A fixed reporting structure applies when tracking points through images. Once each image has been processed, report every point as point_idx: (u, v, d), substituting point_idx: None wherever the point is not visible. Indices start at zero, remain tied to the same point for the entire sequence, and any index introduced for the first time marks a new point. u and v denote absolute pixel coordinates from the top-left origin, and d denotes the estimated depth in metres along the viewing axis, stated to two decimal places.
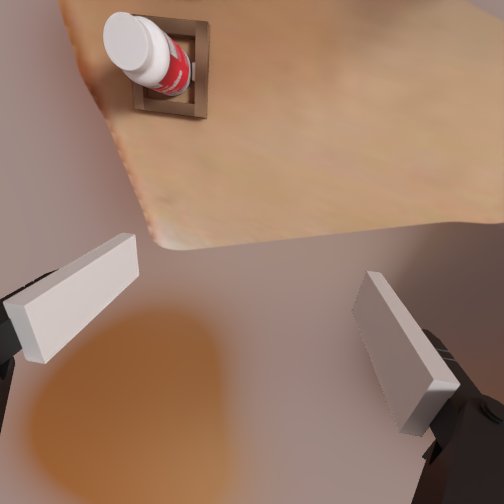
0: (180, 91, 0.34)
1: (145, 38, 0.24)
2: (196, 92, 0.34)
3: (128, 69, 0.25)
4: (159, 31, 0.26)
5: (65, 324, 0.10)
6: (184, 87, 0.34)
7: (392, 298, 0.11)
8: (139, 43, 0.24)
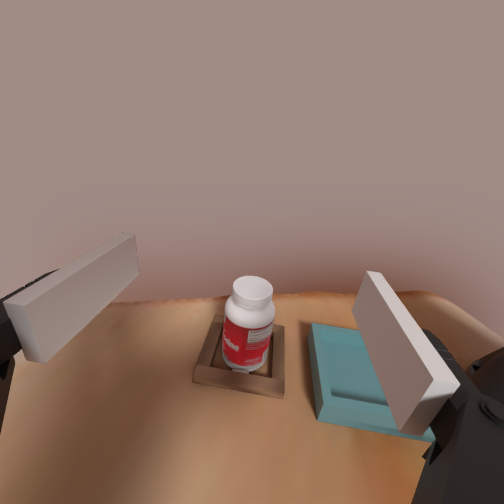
0: (223, 355, 0.31)
1: (254, 298, 0.26)
2: (220, 370, 0.29)
3: (233, 283, 0.28)
4: (264, 321, 0.27)
5: (65, 324, 0.10)
6: (226, 359, 0.30)
7: (392, 298, 0.11)
8: (251, 294, 0.27)
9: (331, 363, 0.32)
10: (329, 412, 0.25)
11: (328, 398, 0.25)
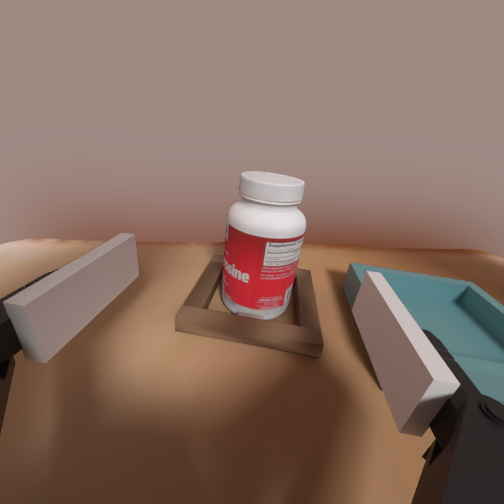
0: (224, 296, 0.20)
1: (278, 183, 0.16)
2: (219, 314, 0.18)
3: (242, 173, 0.18)
4: (292, 228, 0.17)
5: (65, 324, 0.10)
6: (229, 302, 0.20)
7: (392, 298, 0.11)
8: (271, 181, 0.16)
9: None
10: None
11: None
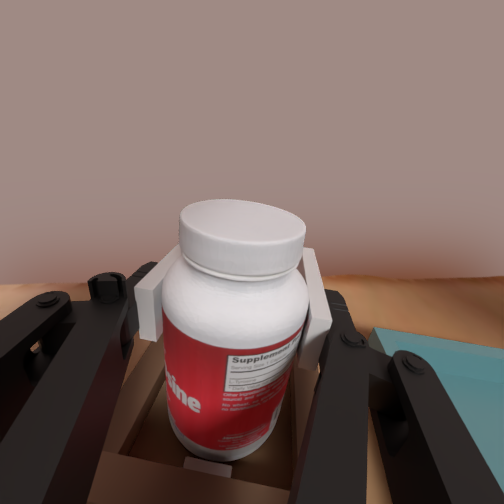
0: (168, 410, 0.12)
1: (249, 240, 0.07)
2: (147, 468, 0.10)
3: (185, 207, 0.09)
4: (282, 324, 0.08)
5: None
6: (174, 426, 0.11)
7: (312, 266, 0.13)
8: (237, 230, 0.08)
9: None
10: None
11: None
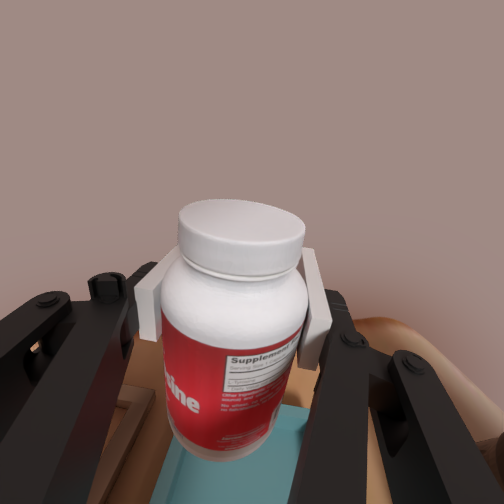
0: (167, 411, 0.12)
1: (247, 240, 0.07)
2: None
3: (184, 207, 0.09)
4: (281, 324, 0.08)
5: None
6: (173, 427, 0.11)
7: (312, 266, 0.13)
8: (236, 229, 0.08)
9: (201, 467, 0.19)
10: None
11: None
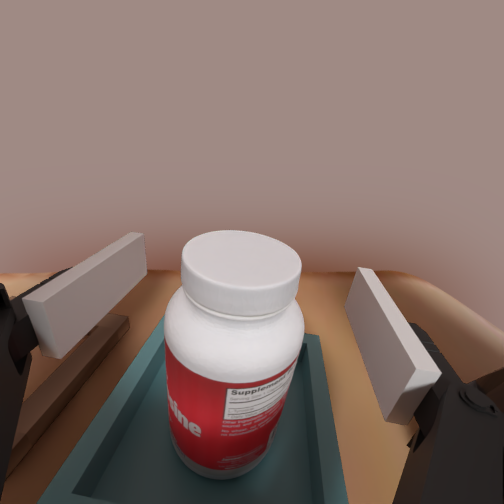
0: (170, 430, 0.12)
1: (246, 285, 0.08)
2: None
3: (187, 244, 0.10)
4: (278, 359, 0.09)
5: (79, 321, 0.10)
6: (176, 445, 0.12)
7: (381, 293, 0.11)
8: (236, 271, 0.08)
9: None
10: None
11: (53, 503, 0.09)
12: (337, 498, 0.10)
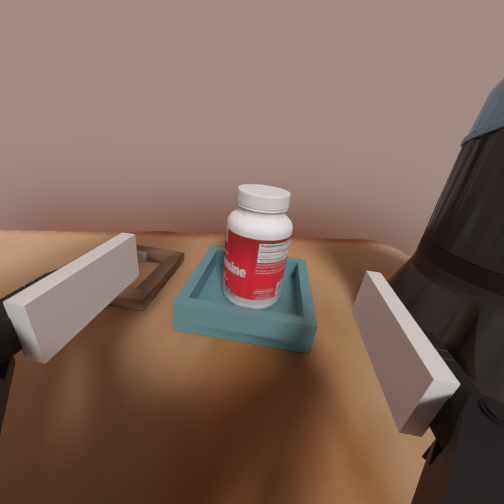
0: (225, 289, 0.24)
1: (268, 196, 0.19)
2: None
3: (239, 186, 0.21)
4: (280, 232, 0.20)
5: (65, 324, 0.10)
6: (229, 294, 0.24)
7: (392, 298, 0.11)
8: (263, 193, 0.20)
9: (220, 282, 0.27)
10: (183, 316, 0.21)
11: (182, 299, 0.21)
12: (308, 306, 0.22)
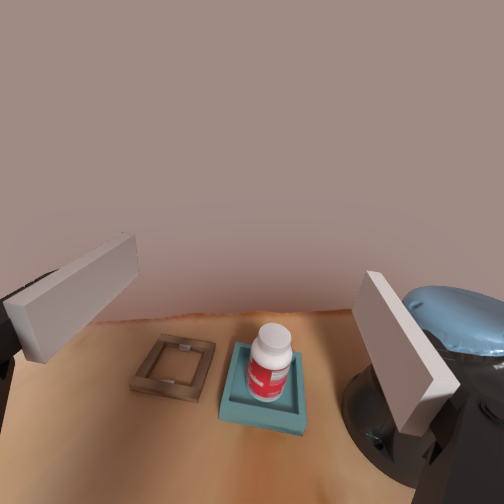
0: (248, 387, 0.37)
1: (277, 346, 0.33)
2: (152, 380, 0.38)
3: (259, 332, 0.35)
4: (285, 363, 0.34)
5: (65, 324, 0.10)
6: (252, 391, 0.37)
7: (392, 298, 0.11)
8: (274, 342, 0.33)
9: (244, 375, 0.41)
10: (225, 413, 0.34)
11: (225, 402, 0.34)
12: (302, 404, 0.35)
